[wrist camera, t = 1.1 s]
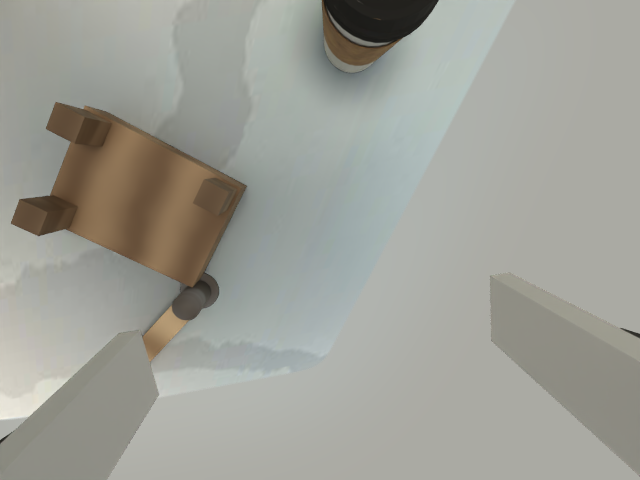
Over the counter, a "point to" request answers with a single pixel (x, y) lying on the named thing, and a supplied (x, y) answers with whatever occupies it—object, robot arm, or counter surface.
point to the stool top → (134, 196)
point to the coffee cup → (368, 28)
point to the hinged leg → (176, 317)
